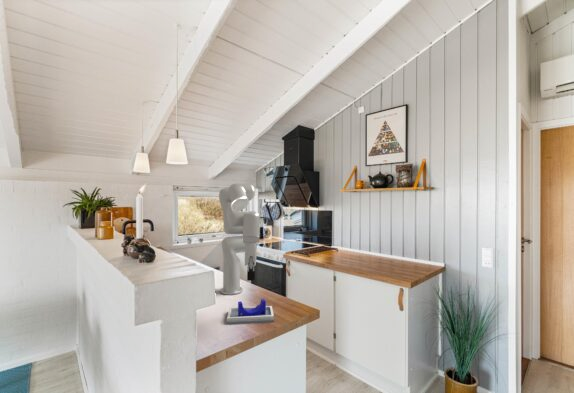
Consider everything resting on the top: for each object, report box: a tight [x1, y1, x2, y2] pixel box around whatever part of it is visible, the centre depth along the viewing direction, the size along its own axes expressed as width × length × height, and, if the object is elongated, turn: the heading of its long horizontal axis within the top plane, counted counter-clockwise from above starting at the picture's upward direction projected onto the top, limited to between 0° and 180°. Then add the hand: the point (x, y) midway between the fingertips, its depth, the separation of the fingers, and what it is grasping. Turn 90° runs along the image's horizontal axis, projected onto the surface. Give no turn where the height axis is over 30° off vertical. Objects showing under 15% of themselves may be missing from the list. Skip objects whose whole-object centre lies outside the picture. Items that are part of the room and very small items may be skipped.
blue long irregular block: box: [237, 298, 267, 317], centre depth 127 cm, size 12×4×6 cm, turn 108°
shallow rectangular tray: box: [226, 305, 275, 325], centre depth 127 cm, size 14×20×2 cm
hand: (250, 277), depth 127 cm, fingers open, 9 cm apart
